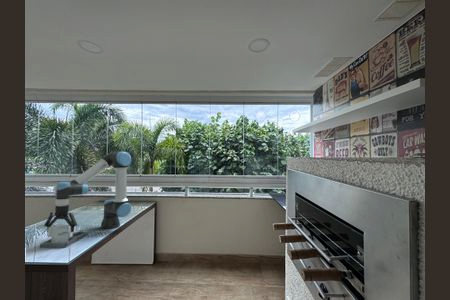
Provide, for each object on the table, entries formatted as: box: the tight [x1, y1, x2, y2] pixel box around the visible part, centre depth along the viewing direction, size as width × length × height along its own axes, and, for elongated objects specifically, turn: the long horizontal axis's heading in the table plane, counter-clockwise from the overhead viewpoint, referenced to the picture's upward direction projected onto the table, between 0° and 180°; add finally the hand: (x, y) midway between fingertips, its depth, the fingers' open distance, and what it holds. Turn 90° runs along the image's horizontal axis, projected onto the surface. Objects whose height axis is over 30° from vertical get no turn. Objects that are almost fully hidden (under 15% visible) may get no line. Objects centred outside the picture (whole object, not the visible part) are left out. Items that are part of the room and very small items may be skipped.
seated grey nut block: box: [72, 230, 79, 237], centre depth 171 cm, size 6×6×4 cm
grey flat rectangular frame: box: [39, 230, 89, 249], centre depth 165 cm, size 27×16×2 cm, turn 3°
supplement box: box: [51, 223, 70, 243], centre depth 158 cm, size 7×7×13 cm
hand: (60, 236), depth 158 cm, fingers open, 13 cm apart
